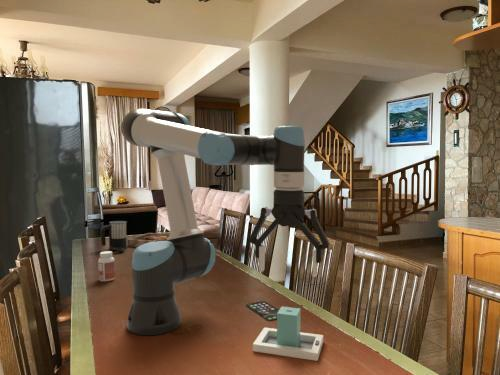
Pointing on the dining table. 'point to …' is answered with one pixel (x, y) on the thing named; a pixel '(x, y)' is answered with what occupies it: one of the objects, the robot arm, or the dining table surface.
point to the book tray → (142, 239)
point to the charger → (288, 326)
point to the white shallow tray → (306, 349)
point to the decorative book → (156, 238)
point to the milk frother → (115, 235)
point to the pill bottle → (106, 266)
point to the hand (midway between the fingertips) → (287, 273)
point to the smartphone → (264, 310)
